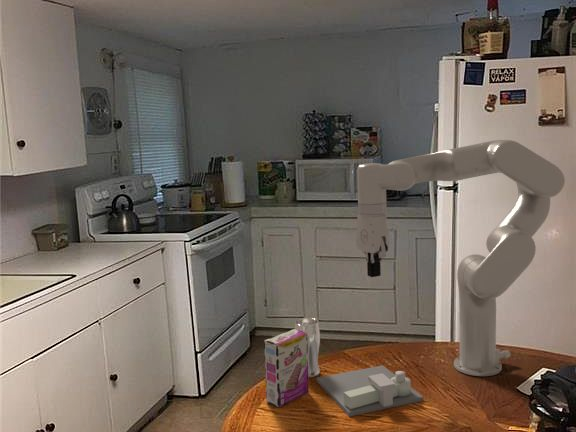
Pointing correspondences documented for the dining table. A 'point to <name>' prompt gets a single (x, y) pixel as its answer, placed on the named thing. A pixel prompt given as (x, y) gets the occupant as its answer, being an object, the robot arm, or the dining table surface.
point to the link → (376, 392)
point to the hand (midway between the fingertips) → (374, 275)
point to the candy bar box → (286, 367)
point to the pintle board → (363, 378)
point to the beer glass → (311, 342)
